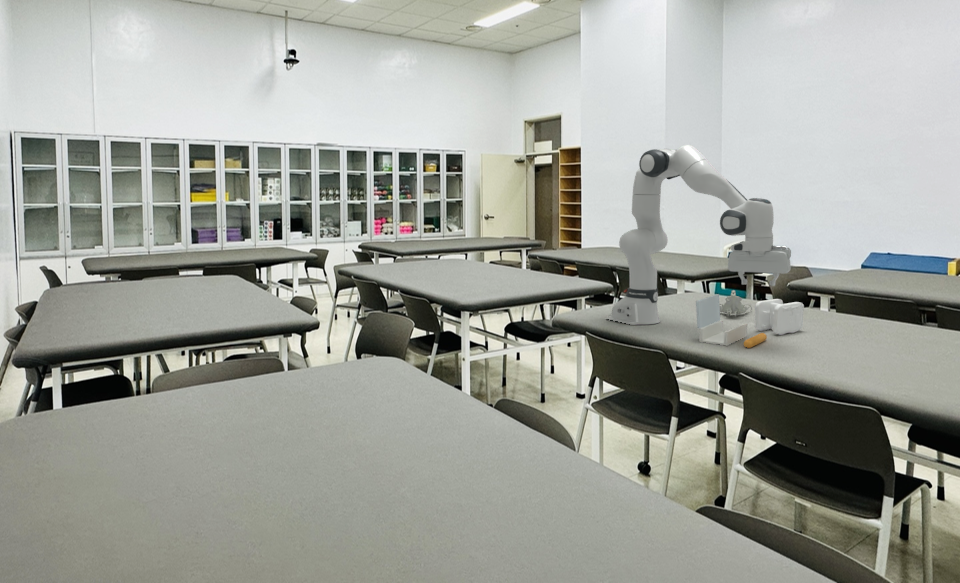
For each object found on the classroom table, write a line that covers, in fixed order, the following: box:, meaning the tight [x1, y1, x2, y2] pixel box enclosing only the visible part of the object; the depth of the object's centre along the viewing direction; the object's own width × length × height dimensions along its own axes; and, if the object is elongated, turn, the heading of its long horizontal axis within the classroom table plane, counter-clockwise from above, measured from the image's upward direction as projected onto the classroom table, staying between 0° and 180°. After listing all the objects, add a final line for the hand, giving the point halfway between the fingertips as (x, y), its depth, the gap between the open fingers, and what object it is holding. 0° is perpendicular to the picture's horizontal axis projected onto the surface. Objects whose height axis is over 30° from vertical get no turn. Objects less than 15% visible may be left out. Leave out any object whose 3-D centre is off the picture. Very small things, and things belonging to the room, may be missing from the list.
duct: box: [698, 319, 748, 347], centre depth 232 cm, size 10×18×5 cm, turn 137°
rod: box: [743, 332, 768, 349], centre depth 225 cm, size 3×16×3 cm, turn 137°
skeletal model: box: [720, 289, 753, 316], centre depth 275 cm, size 16×9×25 cm
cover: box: [695, 293, 721, 329], centre depth 235 cm, size 10×18×1 cm
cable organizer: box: [753, 298, 805, 336], centre depth 242 cm, size 15×11×12 cm
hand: (758, 285), depth 222 cm, fingers open, 8 cm apart
